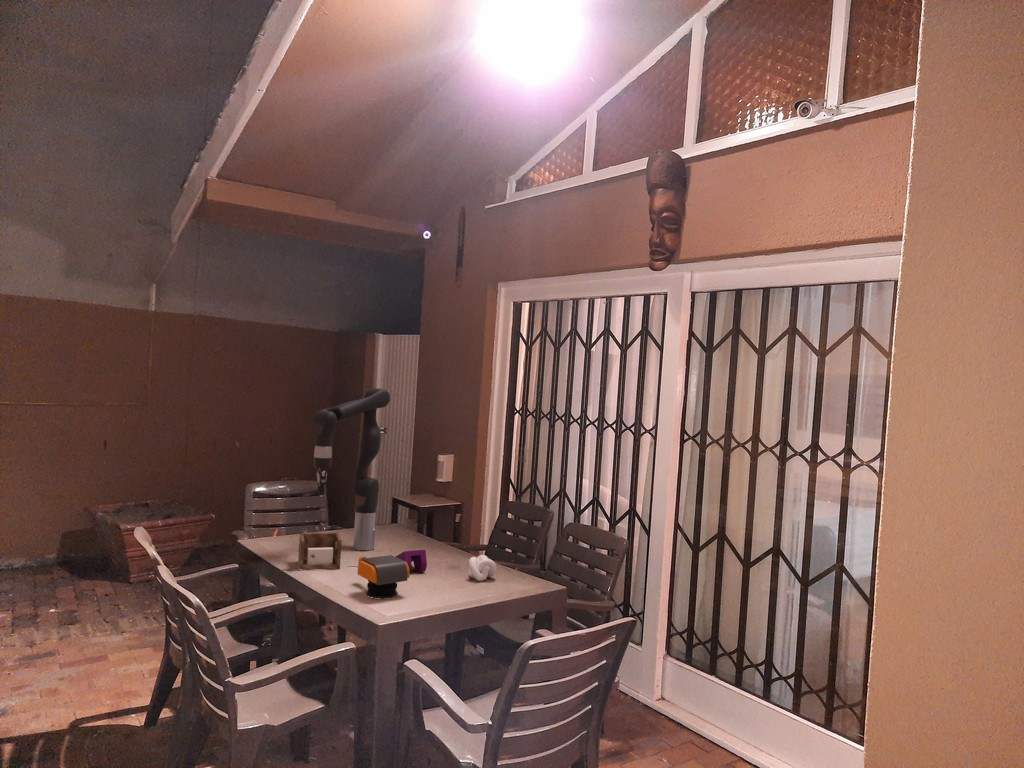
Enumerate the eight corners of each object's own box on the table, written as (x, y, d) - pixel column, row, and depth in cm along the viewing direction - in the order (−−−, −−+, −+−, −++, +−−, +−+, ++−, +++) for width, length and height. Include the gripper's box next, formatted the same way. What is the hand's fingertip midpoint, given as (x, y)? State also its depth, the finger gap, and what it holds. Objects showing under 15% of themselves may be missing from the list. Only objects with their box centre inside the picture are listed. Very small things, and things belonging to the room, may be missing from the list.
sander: (376, 579, 275) (378, 547, 275) (409, 596, 256) (411, 562, 256) (342, 584, 266) (344, 551, 266) (373, 602, 246) (375, 567, 246)
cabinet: (336, 560, 300) (338, 532, 300) (339, 569, 286) (341, 540, 286) (298, 561, 294) (299, 533, 294) (299, 570, 281) (301, 540, 281)
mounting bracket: (390, 580, 295) (406, 572, 282) (388, 560, 298) (404, 551, 285) (410, 578, 300) (427, 569, 287) (408, 558, 303) (425, 549, 290)
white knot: (483, 584, 277) (485, 562, 277) (459, 579, 283) (460, 557, 283) (498, 579, 286) (500, 557, 286) (474, 573, 293) (476, 552, 293)
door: (331, 566, 290) (332, 547, 290) (332, 569, 286) (333, 549, 286) (306, 567, 286) (307, 547, 286) (307, 569, 283) (308, 550, 283)
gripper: (333, 458, 297) (330, 496, 297) (330, 454, 311) (328, 490, 311) (315, 458, 295) (312, 496, 295) (313, 454, 308) (310, 490, 308)
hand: (320, 493), depth 303 cm, fingers open, 8 cm apart
